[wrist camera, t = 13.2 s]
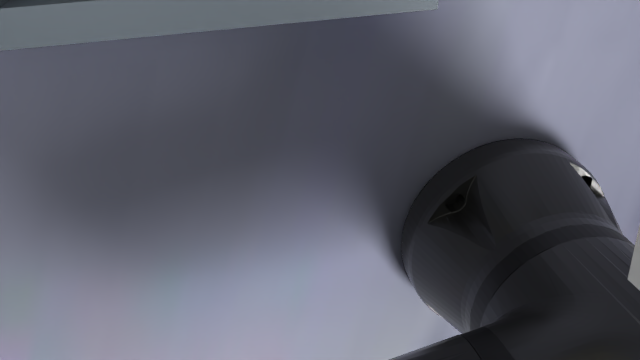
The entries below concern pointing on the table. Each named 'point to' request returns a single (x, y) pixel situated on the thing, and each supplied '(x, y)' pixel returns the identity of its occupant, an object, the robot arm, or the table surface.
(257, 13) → the tray
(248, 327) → the table surface
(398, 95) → the table surface
